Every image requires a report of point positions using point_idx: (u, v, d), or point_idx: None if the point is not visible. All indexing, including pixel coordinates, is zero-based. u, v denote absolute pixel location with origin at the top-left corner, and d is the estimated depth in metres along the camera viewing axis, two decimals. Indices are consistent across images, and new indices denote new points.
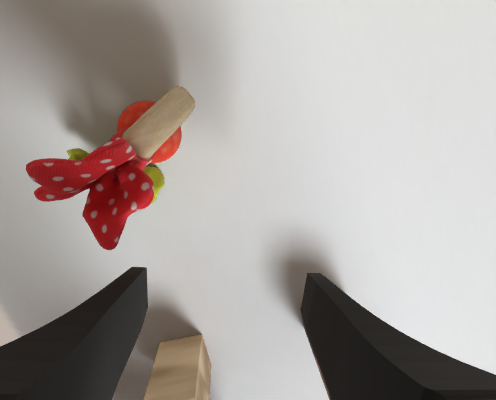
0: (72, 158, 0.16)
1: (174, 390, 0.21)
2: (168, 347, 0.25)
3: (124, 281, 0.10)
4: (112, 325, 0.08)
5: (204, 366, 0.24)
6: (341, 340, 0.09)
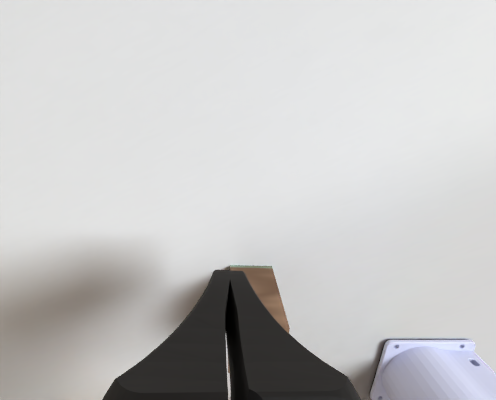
0: None
1: None
2: None
3: (220, 284, 0.10)
4: None
5: None
6: (235, 339, 0.09)
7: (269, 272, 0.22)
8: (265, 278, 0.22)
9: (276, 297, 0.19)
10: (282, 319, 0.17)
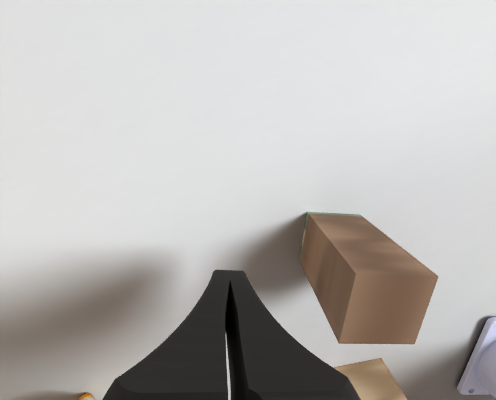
0: None
1: None
2: None
3: (220, 284, 0.10)
4: None
5: (365, 386, 0.20)
6: (235, 339, 0.09)
7: (361, 220, 0.17)
8: (361, 225, 0.16)
9: (391, 243, 0.14)
10: (419, 266, 0.12)
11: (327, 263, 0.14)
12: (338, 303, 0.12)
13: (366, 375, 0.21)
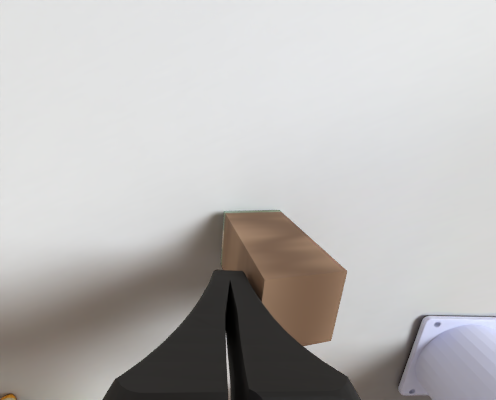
0: None
1: None
2: None
3: (220, 284, 0.10)
4: None
5: None
6: (235, 339, 0.09)
7: (280, 215, 0.16)
8: (278, 221, 0.15)
9: (306, 239, 0.14)
10: (330, 262, 0.12)
11: (242, 267, 0.13)
12: None
13: None
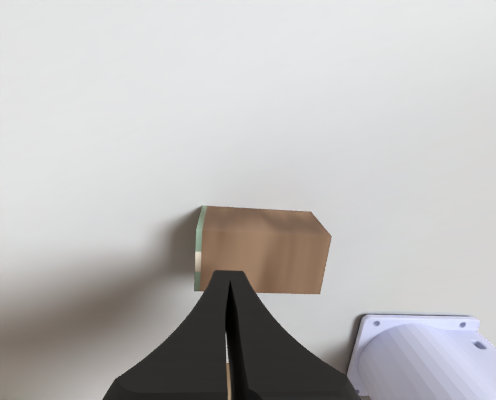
0: None
1: None
2: None
3: (220, 284, 0.10)
4: None
5: None
6: (235, 339, 0.09)
7: (217, 208, 0.17)
8: (231, 211, 0.16)
9: (267, 211, 0.17)
10: (301, 212, 0.17)
11: (278, 254, 0.14)
12: (310, 270, 0.15)
13: None
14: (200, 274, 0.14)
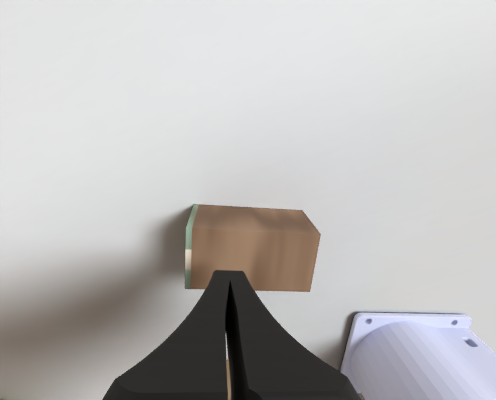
0: None
1: None
2: None
3: (220, 284, 0.10)
4: None
5: None
6: (235, 339, 0.09)
7: (208, 207, 0.17)
8: (222, 210, 0.16)
9: (259, 209, 0.17)
10: (292, 211, 0.17)
11: (268, 251, 0.14)
12: (300, 268, 0.15)
13: None
14: (190, 272, 0.14)
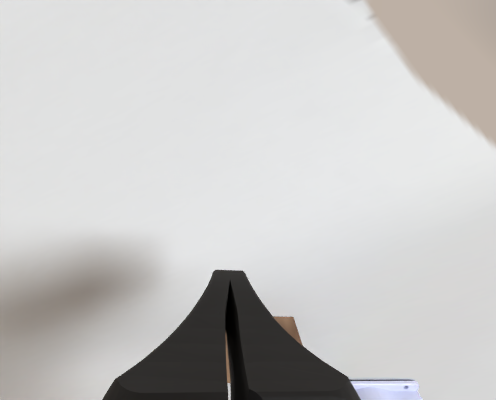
0: None
1: None
2: None
3: (220, 284, 0.10)
4: None
5: None
6: (235, 339, 0.09)
7: None
8: None
9: None
10: (286, 319, 0.25)
11: None
12: None
13: None
14: None
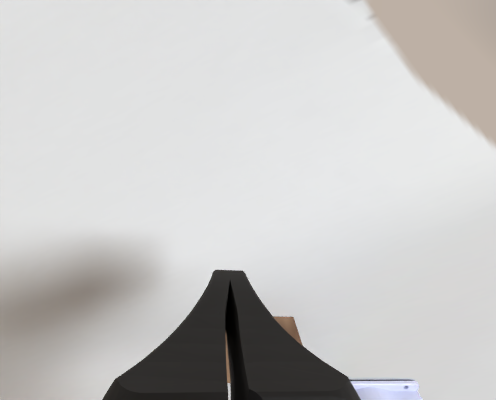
0: None
1: None
2: None
3: (220, 284, 0.10)
4: None
5: None
6: (235, 339, 0.09)
7: None
8: None
9: None
10: (286, 319, 0.25)
11: None
12: None
13: None
14: None
